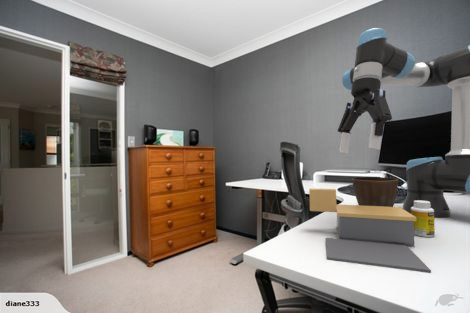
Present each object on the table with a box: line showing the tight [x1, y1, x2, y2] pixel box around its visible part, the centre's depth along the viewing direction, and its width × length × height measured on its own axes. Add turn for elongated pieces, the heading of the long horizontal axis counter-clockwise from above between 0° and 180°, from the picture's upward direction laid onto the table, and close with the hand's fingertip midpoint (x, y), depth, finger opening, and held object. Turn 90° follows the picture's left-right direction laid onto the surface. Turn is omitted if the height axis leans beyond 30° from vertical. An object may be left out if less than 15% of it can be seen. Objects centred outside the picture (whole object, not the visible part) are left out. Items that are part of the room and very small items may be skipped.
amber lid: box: [308, 187, 417, 221], centre depth 70 cm, size 27×13×8 cm, turn 69°
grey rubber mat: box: [325, 237, 432, 274], centre depth 56 cm, size 20×14×1 cm
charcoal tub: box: [336, 214, 415, 248], centre depth 69 cm, size 18×12×7 cm, turn 69°
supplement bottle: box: [411, 200, 436, 238], centre depth 69 cm, size 6×6×10 cm
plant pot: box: [351, 176, 399, 207], centre depth 85 cm, size 15×15×16 cm
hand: (357, 151), depth 66 cm, fingers open, 13 cm apart
